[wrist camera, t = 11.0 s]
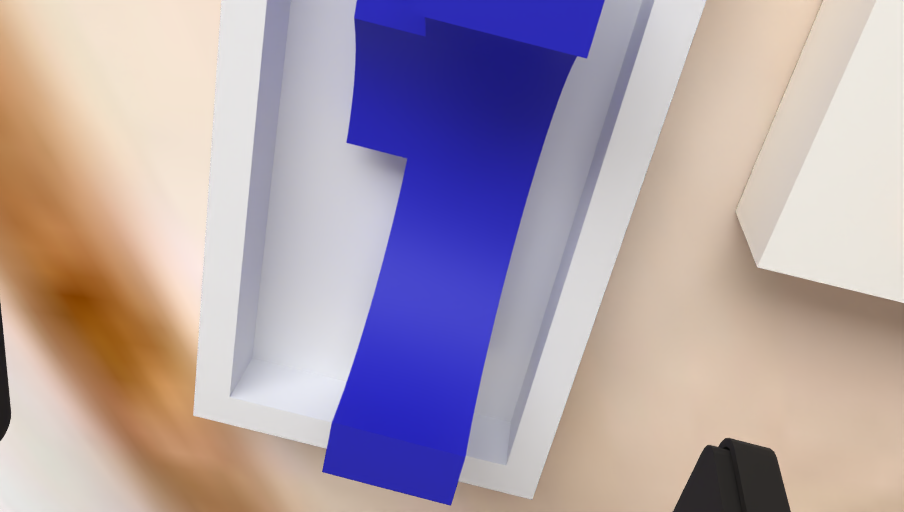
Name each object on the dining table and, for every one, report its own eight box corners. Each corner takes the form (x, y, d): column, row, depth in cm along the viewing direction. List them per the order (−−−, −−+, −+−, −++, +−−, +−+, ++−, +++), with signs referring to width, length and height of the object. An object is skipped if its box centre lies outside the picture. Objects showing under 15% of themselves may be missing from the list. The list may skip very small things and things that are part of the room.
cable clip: (404, -133, 18) (335, -105, 13) (604, -81, 18) (614, -34, 13) (326, 314, 24) (258, 455, 19) (478, 353, 24) (450, 505, 19)
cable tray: (752, -204, 17) (778, -205, 15) (535, 441, 26) (532, 499, 24) (284, -314, 18) (243, -331, 15) (224, 364, 26) (193, 415, 24)
